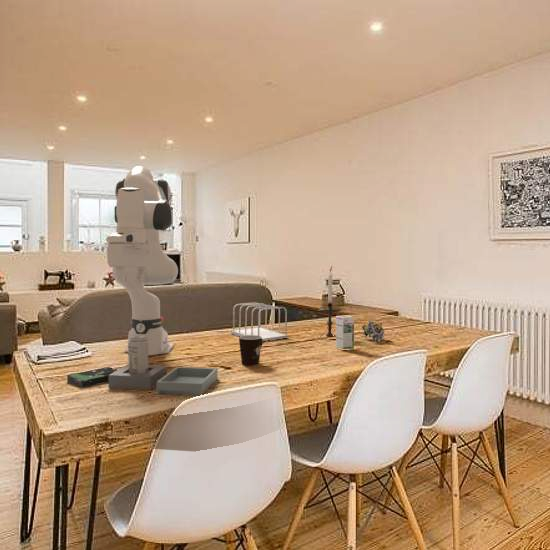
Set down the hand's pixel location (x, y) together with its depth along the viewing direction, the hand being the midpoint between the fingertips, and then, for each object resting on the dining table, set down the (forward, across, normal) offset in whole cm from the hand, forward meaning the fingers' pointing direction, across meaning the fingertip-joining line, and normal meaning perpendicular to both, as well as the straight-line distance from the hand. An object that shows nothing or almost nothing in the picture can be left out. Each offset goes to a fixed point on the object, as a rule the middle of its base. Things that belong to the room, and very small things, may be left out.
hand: (131, 281), depth 155 cm
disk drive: (+33, +1, -13) cm, 36 cm away
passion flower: (+32, -93, +68) cm, 119 cm away
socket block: (+33, 0, +2) cm, 33 cm away
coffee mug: (+32, -35, +29) cm, 56 cm away
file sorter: (+31, -87, +14) cm, 93 cm away
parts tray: (+33, -2, +19) cm, 38 cm away
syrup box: (+32, -70, +58) cm, 97 cm away
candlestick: (+31, -93, +48) cm, 109 cm away
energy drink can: (+33, 0, +2) cm, 33 cm away
